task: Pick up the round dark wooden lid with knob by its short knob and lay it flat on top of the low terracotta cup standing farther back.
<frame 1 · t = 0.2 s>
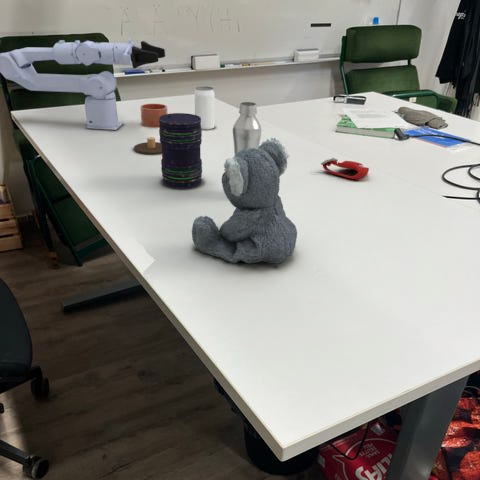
hand: (161, 55, 141), 22 cm above the table, tool horizontal, fingers open, 7 cm apart
silver metal bottle: (244, 195, 113), on the table
wooden lid with knob: (151, 149, 138), on the table
cup: (154, 124, 161), on the table
tracker holder: (344, 174, 128), on the table
storage jar: (182, 182, 118), on the table
koala plush: (250, 249, 91), on the table
can: (204, 127, 159), on the table
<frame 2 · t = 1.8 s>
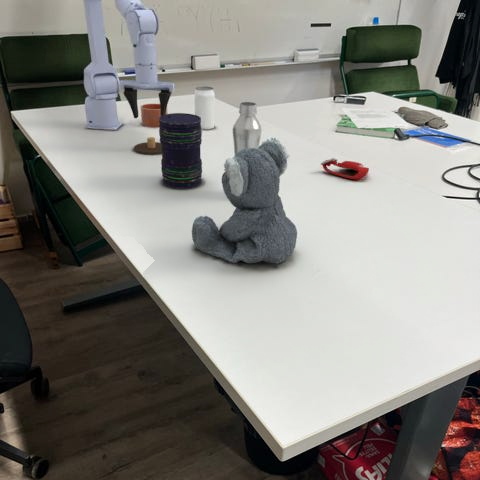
hand: (149, 118, 133), 8 cm above the table, tool pointing down, fingers open, 7 cm apart
nothing on the table moved.
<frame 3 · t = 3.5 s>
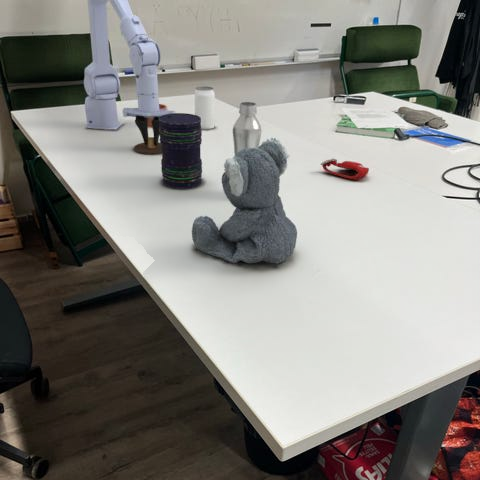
hand: (151, 144, 138), 1 cm above the table, tool pointing down, fingers closed on wooden lid with knob, 2 cm apart
wooden lid with knob: (151, 149, 138), on the table, touching gripper
everything else where it was.
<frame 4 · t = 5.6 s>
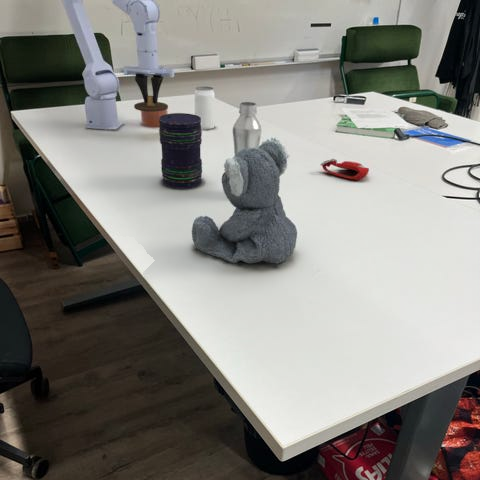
hand: (150, 102, 143), 10 cm above the table, tool pointing down, fingers closed on wooden lid with knob, 2 cm apart
wooden lid with knob: (151, 107, 144), point 8 cm above the table, touching gripper
everything else where it was.
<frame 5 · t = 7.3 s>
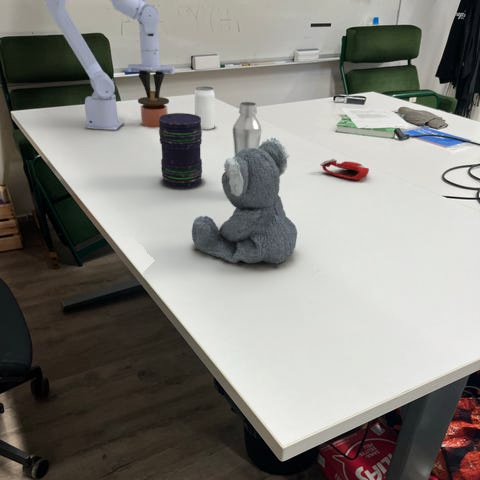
hand: (153, 97, 156), 8 cm above the table, tool pointing down, fingers closed on wooden lid with knob, 2 cm apart
wooden lid with knob: (153, 101, 156), point 7 cm above the table, touching gripper
everything else where it was.
when the fingers open (7 cm above the table, at t = 8.0 s): wooden lid with knob stays where it is, resting on cup.
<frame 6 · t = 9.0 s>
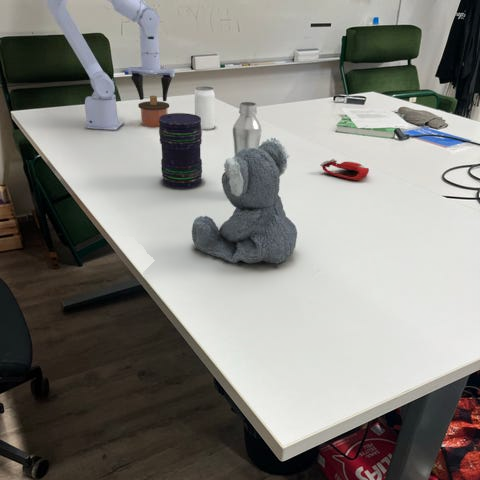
hand: (153, 100, 156), 8 cm above the table, tool pointing down, fingers open, 7 cm apart
wooden lid with knob: (153, 106, 157), point 5 cm above the table, touching cup
cup: (154, 124, 161), on the table, touching wooden lid with knob
everything else where it was.
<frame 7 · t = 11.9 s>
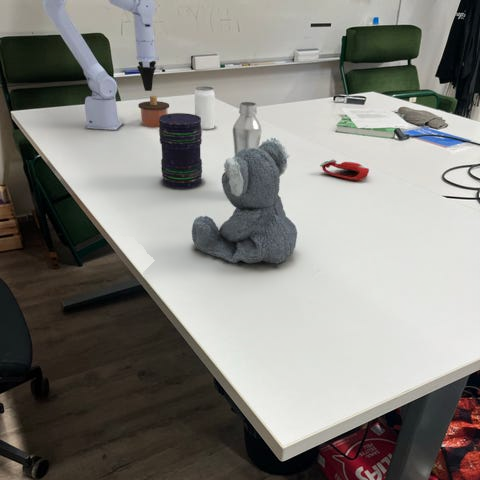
hand: (148, 88, 157), 10 cm above the table, tool pointing down, fingers open, 7 cm apart
nothing on the table moved.
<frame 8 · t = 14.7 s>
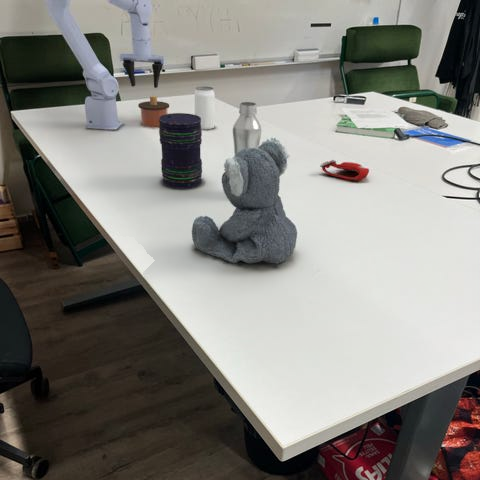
hand: (144, 86, 159), 10 cm above the table, tool pointing down, fingers open, 7 cm apart
at the end: wooden lid with knob 0.0 cm off-centre on the cup, point 5.5 cm above the cup's base; wooden lid with knob tilted 0°; cup tilted 0° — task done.
